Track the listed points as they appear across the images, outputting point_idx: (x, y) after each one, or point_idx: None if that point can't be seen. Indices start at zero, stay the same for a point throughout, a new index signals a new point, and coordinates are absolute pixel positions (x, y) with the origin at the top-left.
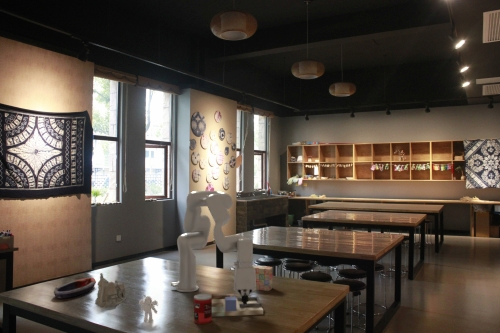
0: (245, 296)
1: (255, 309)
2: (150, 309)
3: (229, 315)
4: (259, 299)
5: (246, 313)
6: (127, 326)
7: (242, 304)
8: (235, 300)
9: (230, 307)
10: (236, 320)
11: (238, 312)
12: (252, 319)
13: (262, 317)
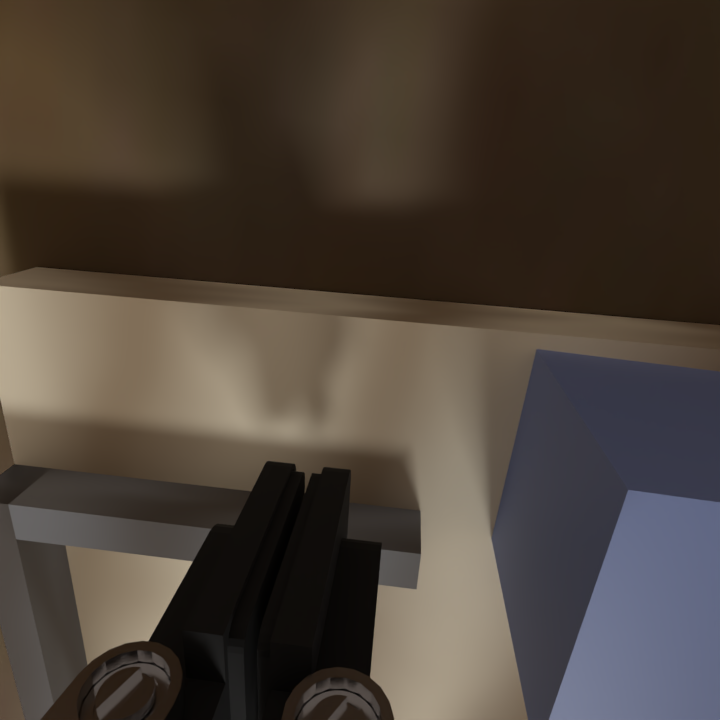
0: (244, 622)
1: (127, 343)
2: None
3: (660, 321)
4: (17, 686)
5: (327, 298)
6: None
7: None
8: (658, 483)
9: (711, 401)
10: (605, 8)
11: (489, 322)
12: (251, 9)
13: (47, 97)
